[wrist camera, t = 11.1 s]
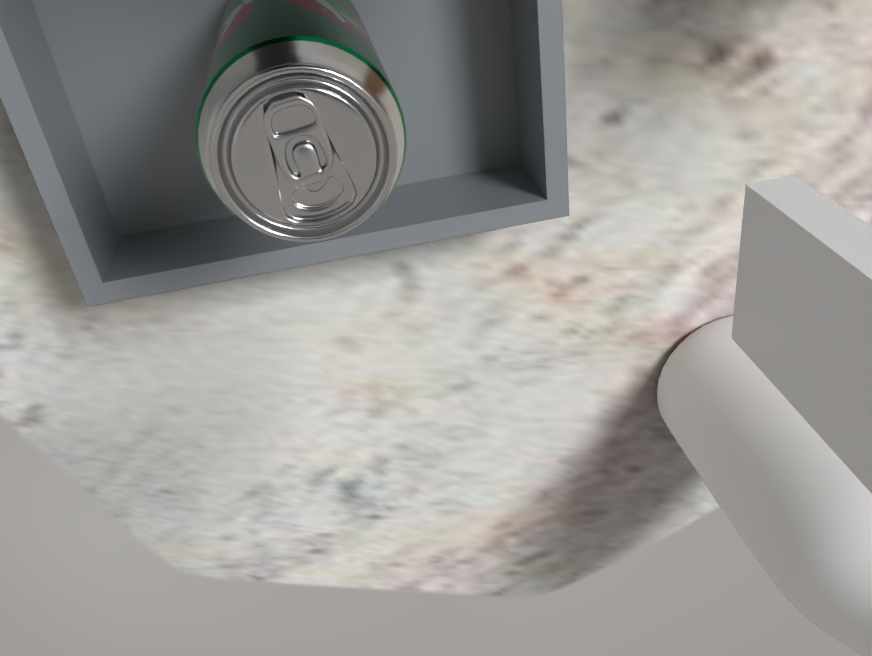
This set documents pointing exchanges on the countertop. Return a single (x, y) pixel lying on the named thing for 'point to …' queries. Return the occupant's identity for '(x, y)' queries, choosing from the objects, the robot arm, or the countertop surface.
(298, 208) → the soda can
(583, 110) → the countertop surface
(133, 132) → the bin
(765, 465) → the milk bottle
